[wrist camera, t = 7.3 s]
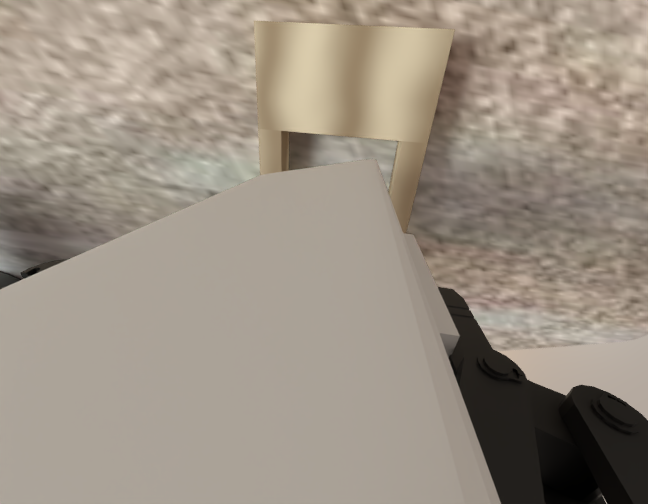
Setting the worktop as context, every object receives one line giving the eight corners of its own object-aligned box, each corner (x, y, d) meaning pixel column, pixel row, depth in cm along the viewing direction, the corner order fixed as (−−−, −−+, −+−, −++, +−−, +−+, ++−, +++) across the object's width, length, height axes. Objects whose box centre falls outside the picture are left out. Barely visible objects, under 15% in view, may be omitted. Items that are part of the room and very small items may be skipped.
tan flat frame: (271, 252, 29) (263, 262, 27) (266, 32, 20) (253, 20, 18) (392, 268, 28) (394, 280, 26) (444, 41, 19) (455, 29, 17)
